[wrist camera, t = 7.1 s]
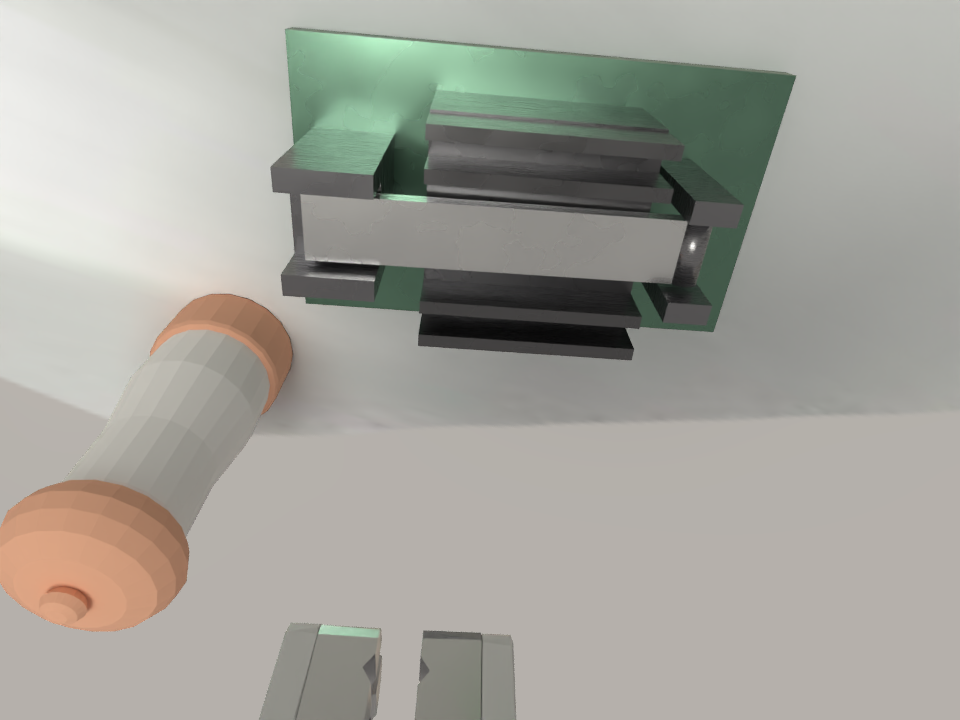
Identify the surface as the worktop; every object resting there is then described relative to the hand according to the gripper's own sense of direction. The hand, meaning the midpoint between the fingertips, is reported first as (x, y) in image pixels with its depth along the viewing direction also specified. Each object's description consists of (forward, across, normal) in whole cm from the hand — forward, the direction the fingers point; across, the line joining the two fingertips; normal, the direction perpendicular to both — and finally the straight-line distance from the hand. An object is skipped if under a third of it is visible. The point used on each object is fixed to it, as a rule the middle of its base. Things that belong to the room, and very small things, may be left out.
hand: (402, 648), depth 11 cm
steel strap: (+21, -2, 0) cm, 21 cm away
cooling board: (+27, -4, 0) cm, 27 cm away
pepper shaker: (+27, +14, +11) cm, 32 cm away
